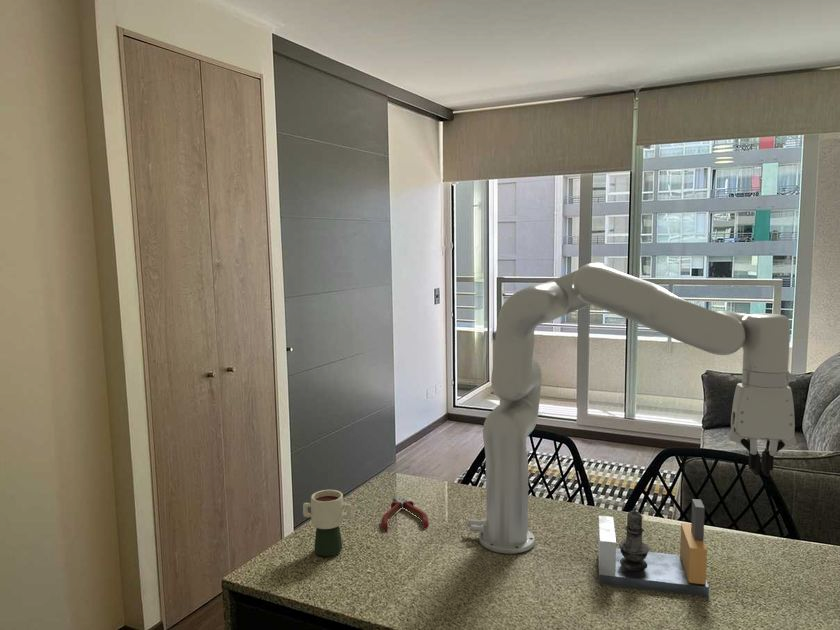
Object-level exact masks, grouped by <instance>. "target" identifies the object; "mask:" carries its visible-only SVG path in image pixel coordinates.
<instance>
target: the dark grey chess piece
mask: <svg viewBox="0 0 840 630" xmlns="http://www.w3.org/2000/svg"><path fill="white" fill-rule="evenodd" d="M626 516H627V517H626V526H625V527H624V528H625V529H624V530H625V531H626V537H625V540H622V541H620V542H619V544H618V548H619V549H620V550H621V553H622V555H623V556H624V558H622V559H621V560H620V563H621V565H622V566H624V567H626V568H628V569H632V570H643V569H645V568H647V563H646V562H645V561H644V559H645V558H646V556H647V554H648V552H650V547H649V545H647V544H646V543H644V542H643V533H644V531H645V530H644V528H643V516H642V513H640V512H639V511H637V507H635V506H634V507H633V508H632V510H630V511H628V513H627V515H626Z"/></svg>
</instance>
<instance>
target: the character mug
mask: <svg viewBox="0 0 840 630" xmlns="http://www.w3.org/2000/svg"><path fill="white" fill-rule="evenodd" d="M308 508H310V511H311V512H309V511H308ZM352 508H353V507H352V504H351V503H344V494H343V493H342V491H339V490H336V489H323V490H319V491H316V492H314V493H313V494H311V495H310V502H303V505H302V514H303V517H305V518H311V524H312V526H313V527H314V528H316V529H315V538H314V548H313V549H314V551H313V552H315V553H316V554H317V555H319V556H321V557H329V556H334V555H336V554H338V553H339V552H341V551H342V549H343V541H342V535H341V534H342V533H341V530H340V529H341V527H340V526H341V525H342V523H343V521H344V519H351V518H352V516H353V512H352V511H353V509H352ZM344 509H347V512H346V513H344Z"/></svg>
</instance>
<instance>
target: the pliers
mask: <svg viewBox="0 0 840 630" xmlns="http://www.w3.org/2000/svg"><path fill="white" fill-rule="evenodd" d="M402 498H403V499H402V500H401V499H400V497H399V496H398V495H397V494H396V493H395V494H394V500H395V501H392V502H391V503H390V509H388V511H387V512H385V514H383V516H382V517H381V520H380V521H381V527H382V530H383V529H384V530H388V531H389V527H388V524H389V522H388V523H387V521H388V519H390V518H391V517H392V516H393V515H394V514H395V513H396V512H397V511H398V510H399V509H400V508H402V507H403V508H405V509H407V510H408V511H410V512H411V513H413V514H414V515H416V516H417V517H419V518H420V519H421V520H422V521H423V522H422V521H421V520H420V519H419V520H420V521H421V522H422V527H423V526H424V527H423V529H424V528H427V527H428V528H429V525H430V524H429V518H428V515H427V514H426V513H425V512H424V511H423V510H421V509H420V508H418V507H416V506H415V505H414V501H412V500H409V501H408V497H407V494H406V493H405V494H404V496H403V497H402ZM417 517H416V518H417ZM428 528H427V529H428ZM384 530H383V531H384Z"/></svg>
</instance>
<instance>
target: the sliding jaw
mask: <svg viewBox="0 0 840 630" xmlns="http://www.w3.org/2000/svg"><path fill="white" fill-rule="evenodd" d="M690 522H691V523H680V544H679V545H680V547H679V555H680V557H681V560H682V563H683V566H684V569H685V572H686V575H687V579H688V582H689V583H696V584H705V585H706V581H707V561H708V560H707V558H708V557H707V555H708V549H707V547H706V544H705V542H704V541H705V540H704V538H705V536H704V535H705V533H704V532H705V506H704V504H703V500H702V499H696V498H691V521H690Z"/></svg>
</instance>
